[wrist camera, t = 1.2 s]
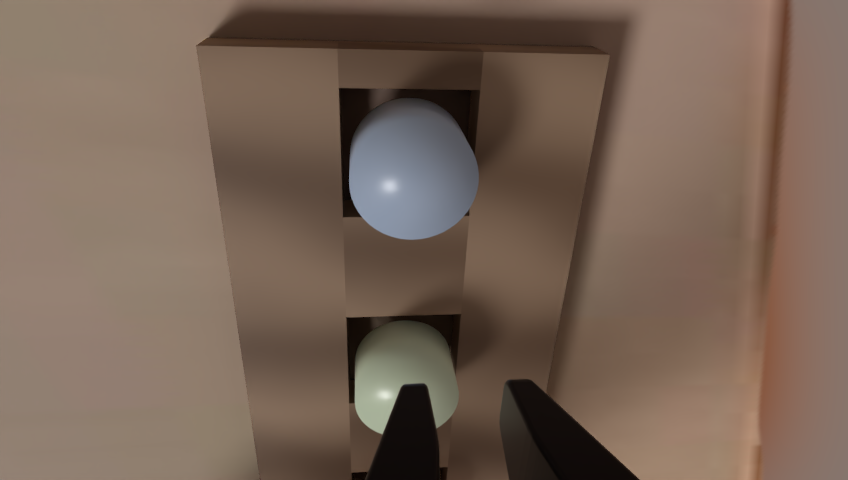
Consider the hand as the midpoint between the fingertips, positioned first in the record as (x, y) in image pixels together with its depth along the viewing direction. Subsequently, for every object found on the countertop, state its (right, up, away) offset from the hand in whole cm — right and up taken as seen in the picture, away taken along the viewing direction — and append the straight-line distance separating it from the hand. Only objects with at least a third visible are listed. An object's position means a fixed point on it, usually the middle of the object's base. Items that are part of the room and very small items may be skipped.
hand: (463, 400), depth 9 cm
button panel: (-2, -2, +16) cm, 16 cm away
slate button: (-1, +6, +10) cm, 12 cm away
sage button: (-2, -2, +14) cm, 15 cm away
